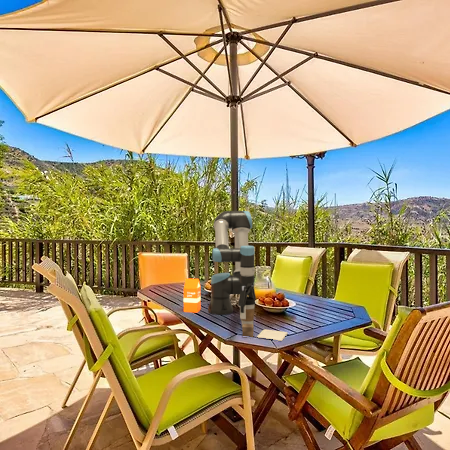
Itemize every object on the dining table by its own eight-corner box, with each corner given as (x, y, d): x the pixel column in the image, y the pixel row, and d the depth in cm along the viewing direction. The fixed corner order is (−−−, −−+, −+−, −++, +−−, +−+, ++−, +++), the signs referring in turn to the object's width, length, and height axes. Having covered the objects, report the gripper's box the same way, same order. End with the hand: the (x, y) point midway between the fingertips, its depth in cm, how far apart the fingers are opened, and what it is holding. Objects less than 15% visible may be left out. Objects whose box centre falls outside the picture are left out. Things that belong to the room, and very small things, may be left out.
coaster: (256, 338, 156) (256, 336, 156) (264, 330, 167) (264, 329, 167) (281, 342, 152) (281, 340, 152) (287, 333, 163) (287, 332, 163)
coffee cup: (254, 324, 178) (254, 296, 178) (256, 329, 170) (256, 300, 170) (238, 324, 178) (238, 296, 178) (240, 329, 170) (240, 300, 170)
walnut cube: (242, 337, 158) (242, 326, 158) (243, 333, 163) (243, 323, 163) (252, 337, 157) (252, 327, 157) (253, 334, 162) (253, 324, 162)
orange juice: (197, 312, 201) (197, 279, 201) (183, 311, 203) (183, 279, 202) (200, 309, 208) (200, 277, 208) (187, 308, 210) (187, 277, 210)
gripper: (246, 279, 161) (246, 322, 161) (261, 272, 184) (261, 310, 184) (231, 278, 164) (231, 320, 164) (248, 271, 187) (248, 309, 187)
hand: (247, 315), depth 174 cm, fingers open, 13 cm apart
